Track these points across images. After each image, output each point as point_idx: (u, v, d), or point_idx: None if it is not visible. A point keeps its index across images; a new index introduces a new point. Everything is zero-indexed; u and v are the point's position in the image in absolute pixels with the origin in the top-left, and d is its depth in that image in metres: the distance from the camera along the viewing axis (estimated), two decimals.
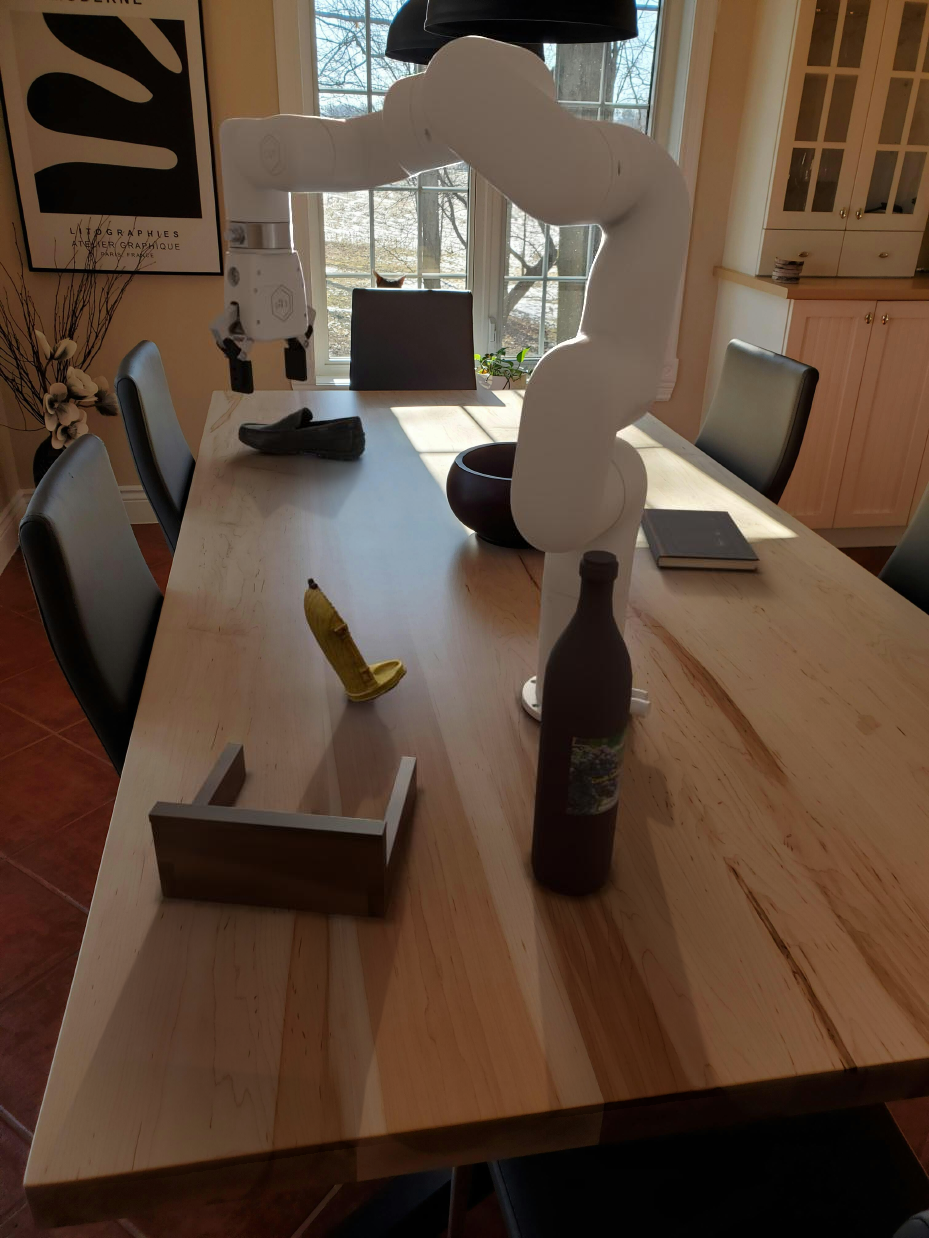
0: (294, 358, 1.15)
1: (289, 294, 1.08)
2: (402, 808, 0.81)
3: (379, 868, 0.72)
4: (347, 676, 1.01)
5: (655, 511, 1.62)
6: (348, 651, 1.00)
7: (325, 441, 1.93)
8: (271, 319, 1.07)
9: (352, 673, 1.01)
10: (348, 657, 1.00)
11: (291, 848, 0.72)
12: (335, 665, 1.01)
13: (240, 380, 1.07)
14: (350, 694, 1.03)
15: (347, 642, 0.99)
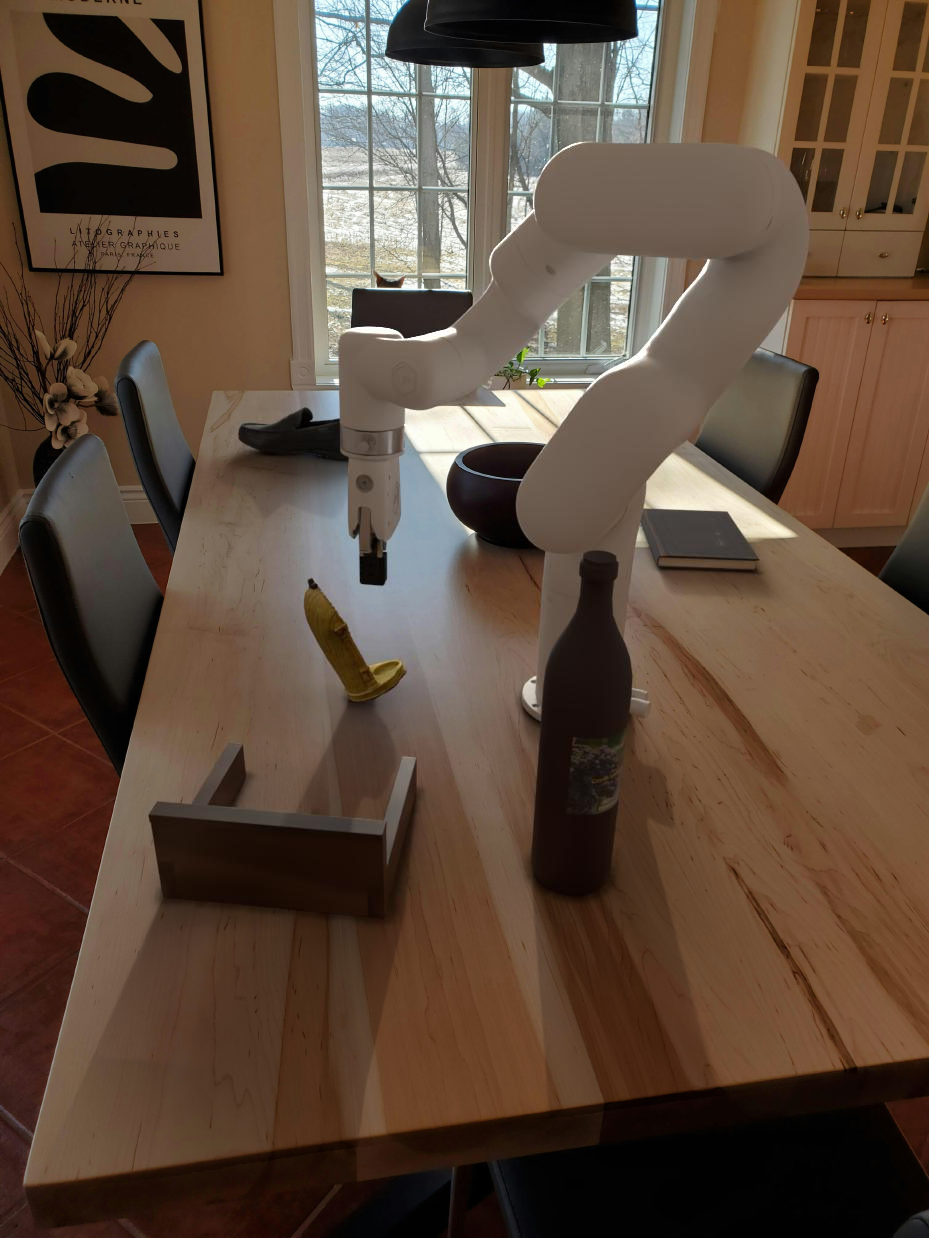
0: None
1: (398, 487, 1.09)
2: (402, 808, 0.81)
3: (379, 868, 0.72)
4: (347, 676, 1.01)
5: (655, 511, 1.62)
6: (348, 651, 1.00)
7: (325, 441, 1.93)
8: (392, 516, 1.07)
9: (352, 673, 1.01)
10: (348, 657, 1.00)
11: (291, 848, 0.72)
12: (335, 665, 1.01)
13: (376, 575, 1.11)
14: (350, 694, 1.03)
15: (347, 642, 0.99)
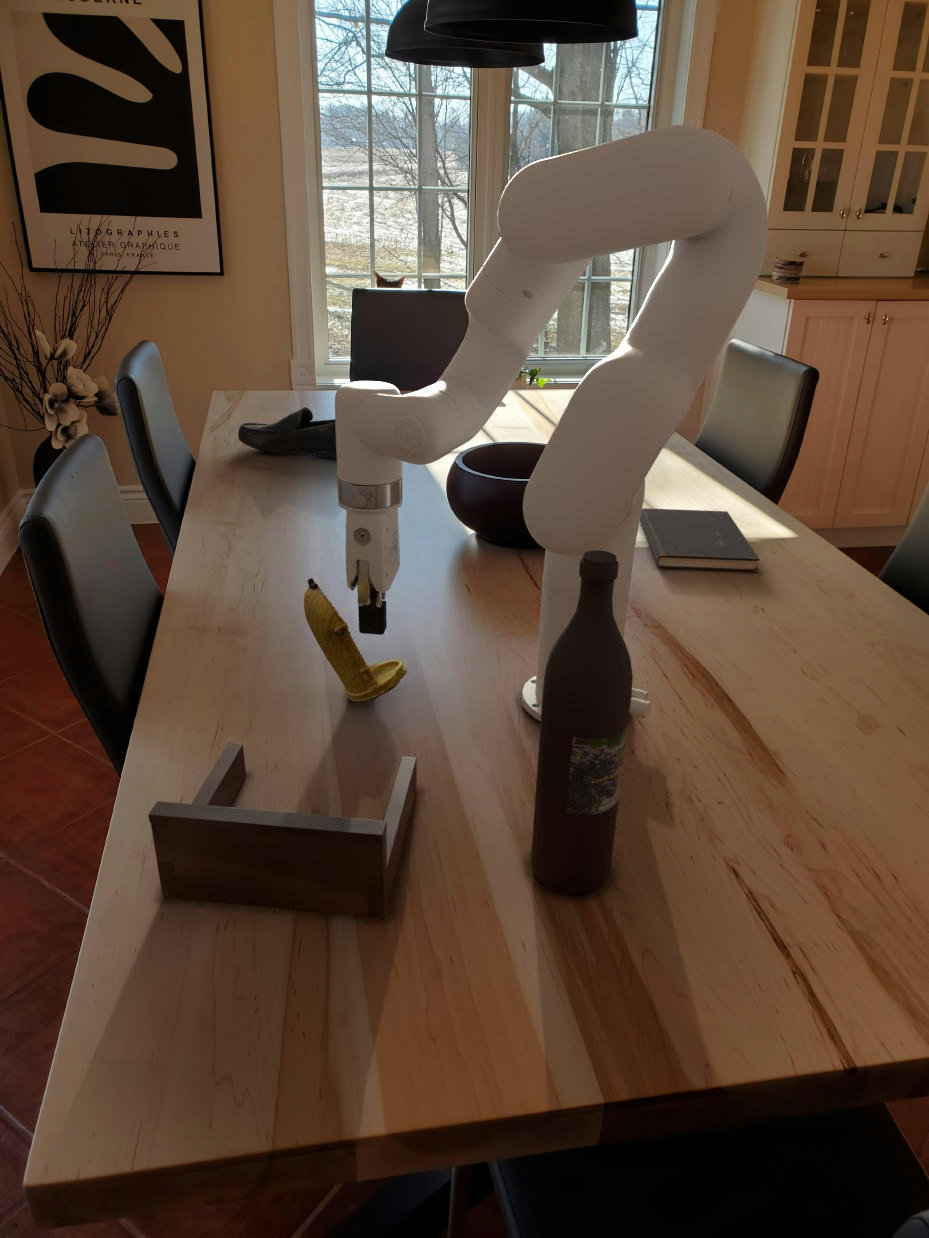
0: None
1: (396, 537, 1.09)
2: (402, 808, 0.81)
3: (379, 868, 0.72)
4: (347, 676, 1.01)
5: (655, 511, 1.62)
6: (348, 651, 1.00)
7: (325, 441, 1.93)
8: (391, 567, 1.07)
9: (352, 673, 1.01)
10: (348, 657, 1.00)
11: (291, 848, 0.72)
12: (335, 665, 1.01)
13: (375, 624, 1.11)
14: (350, 694, 1.03)
15: (347, 642, 0.99)
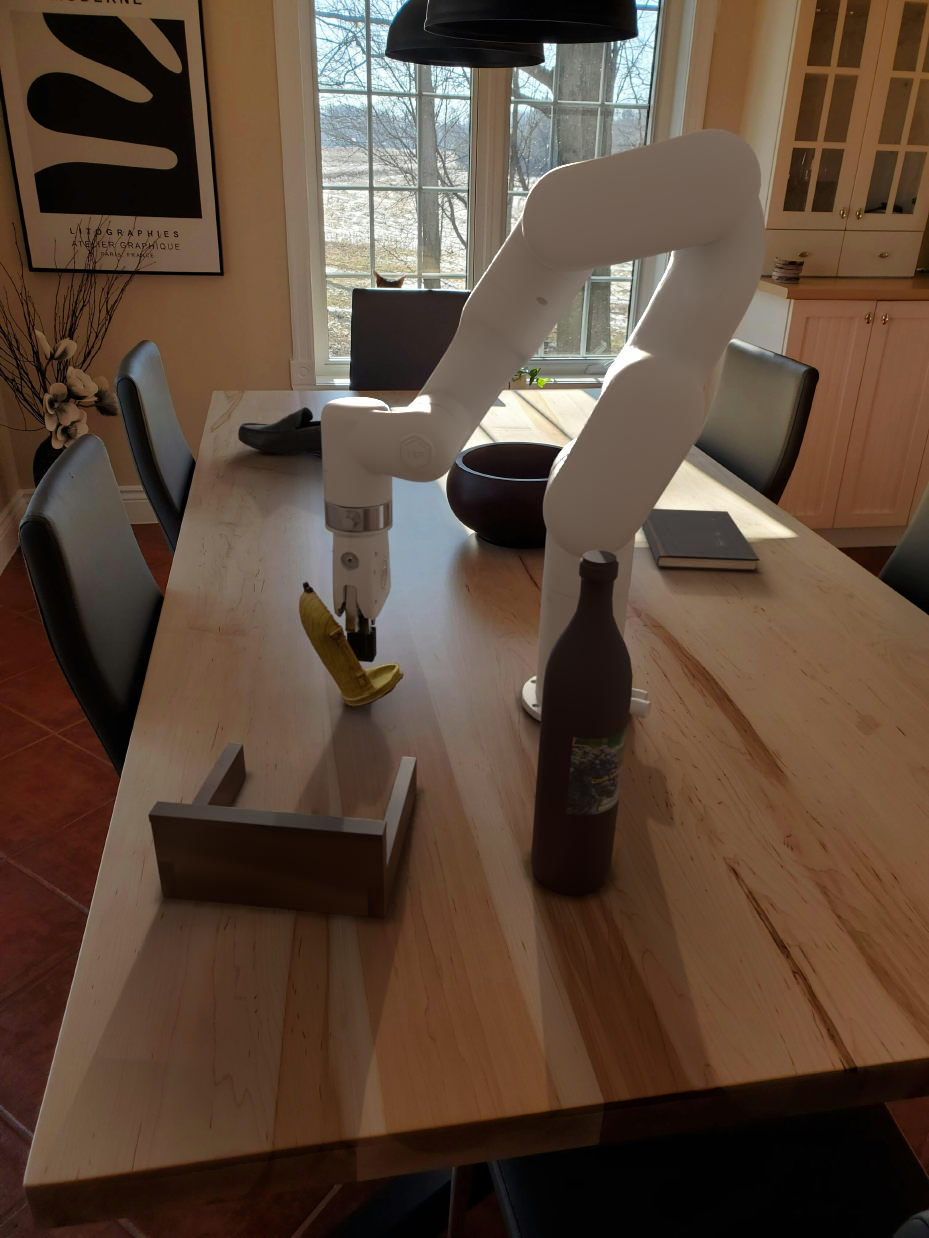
0: None
1: (386, 561, 1.03)
2: (402, 808, 0.81)
3: (379, 868, 0.72)
4: (343, 680, 1.00)
5: (655, 511, 1.62)
6: (344, 655, 0.99)
7: None
8: (380, 592, 1.01)
9: (348, 677, 1.00)
10: (344, 661, 0.99)
11: (291, 848, 0.72)
12: (331, 669, 1.00)
13: (365, 652, 1.06)
14: (346, 698, 1.02)
15: (343, 646, 0.98)
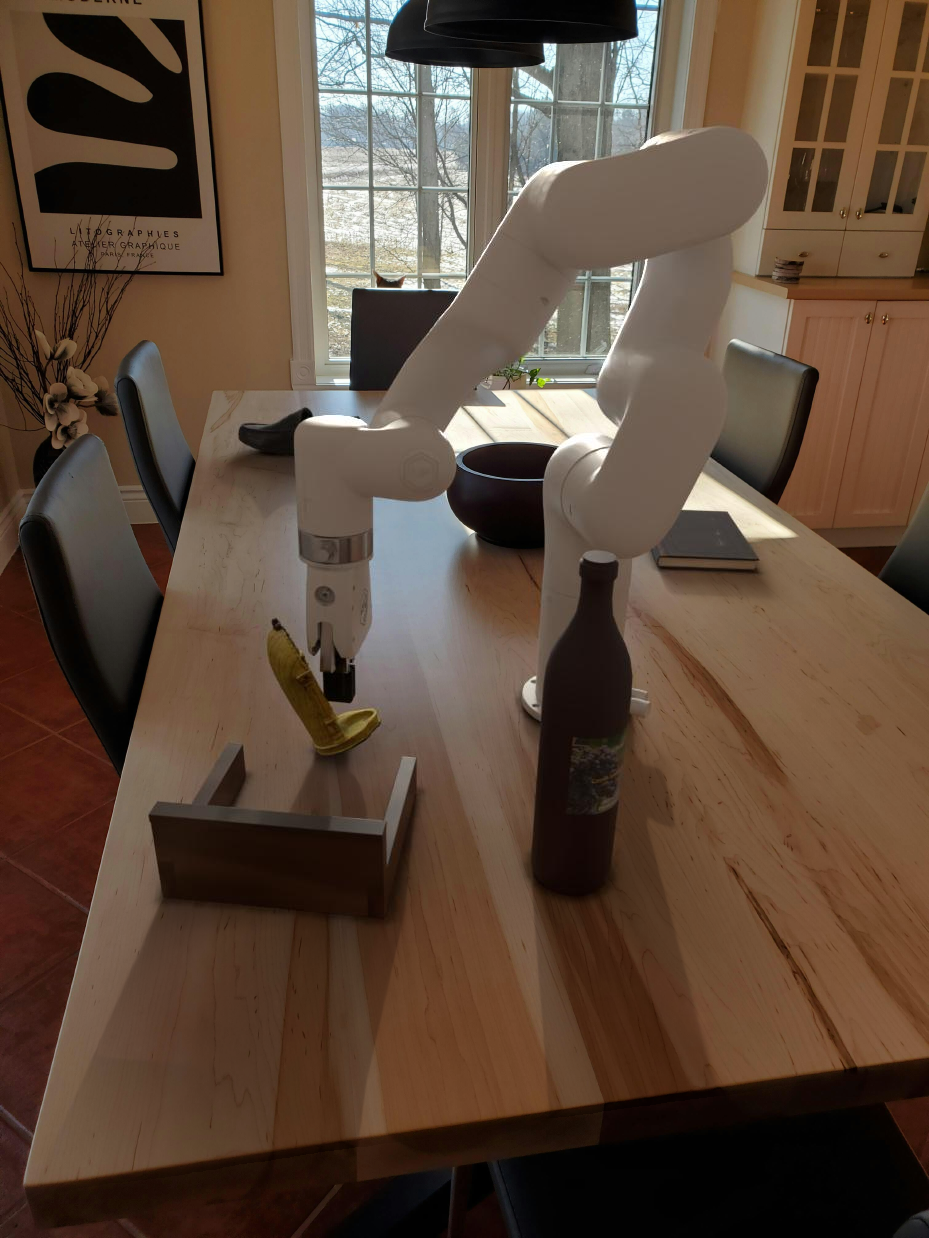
0: None
1: (366, 594, 0.94)
2: (402, 808, 0.81)
3: (379, 868, 0.72)
4: (311, 727, 0.92)
5: None
6: (312, 700, 0.90)
7: None
8: (359, 629, 0.92)
9: (317, 724, 0.91)
10: (312, 707, 0.90)
11: (291, 848, 0.72)
12: (299, 714, 0.92)
13: (342, 692, 0.96)
14: (316, 746, 0.93)
15: (311, 691, 0.89)
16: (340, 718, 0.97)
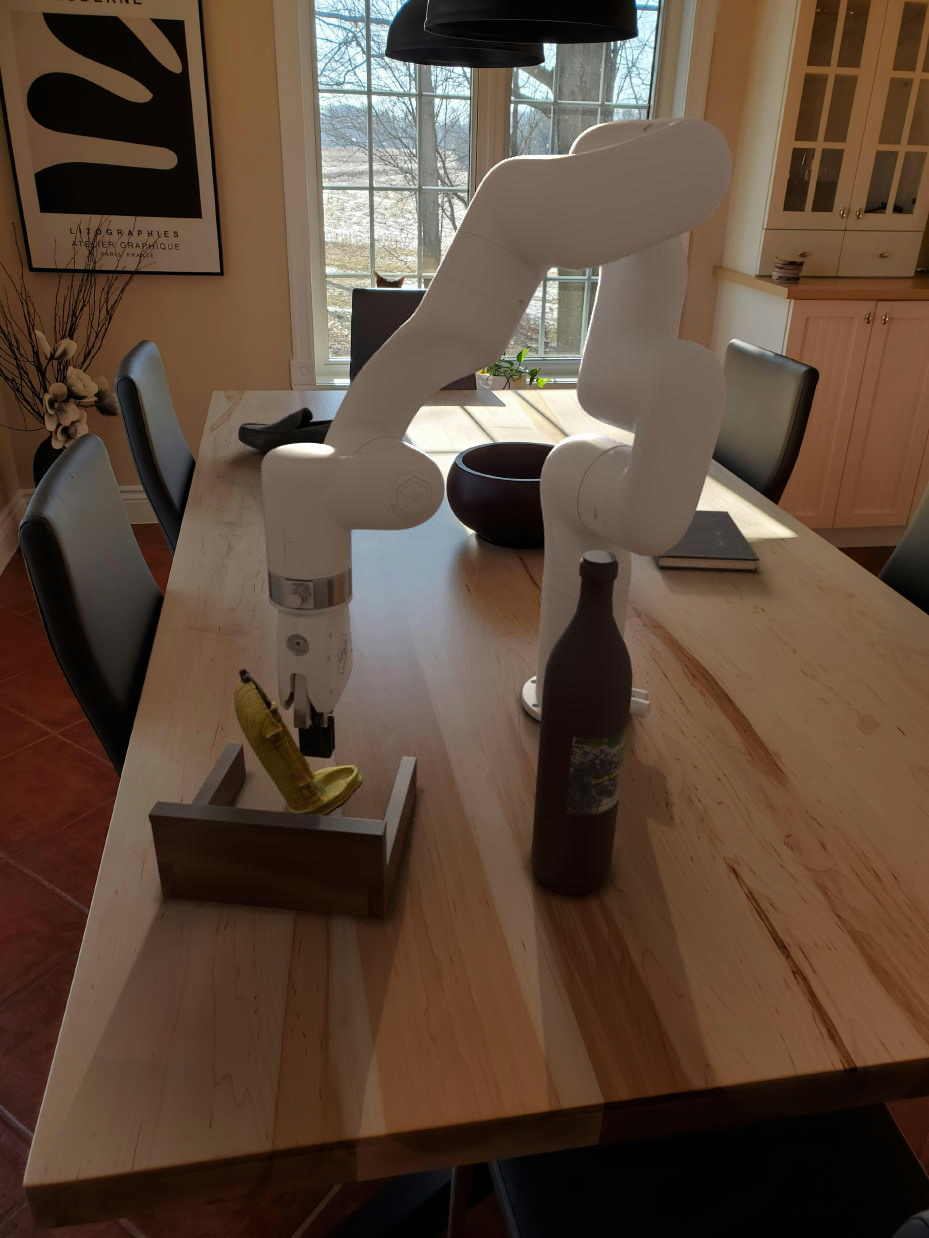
0: None
1: (346, 639, 0.85)
2: (402, 808, 0.81)
3: (379, 868, 0.72)
4: (284, 789, 0.82)
5: None
6: (284, 761, 0.81)
7: None
8: (337, 679, 0.83)
9: (290, 787, 0.82)
10: (284, 768, 0.81)
11: (291, 848, 0.72)
12: (270, 775, 0.82)
13: (320, 747, 0.87)
14: (290, 809, 0.84)
15: (282, 750, 0.80)
16: (317, 775, 0.88)
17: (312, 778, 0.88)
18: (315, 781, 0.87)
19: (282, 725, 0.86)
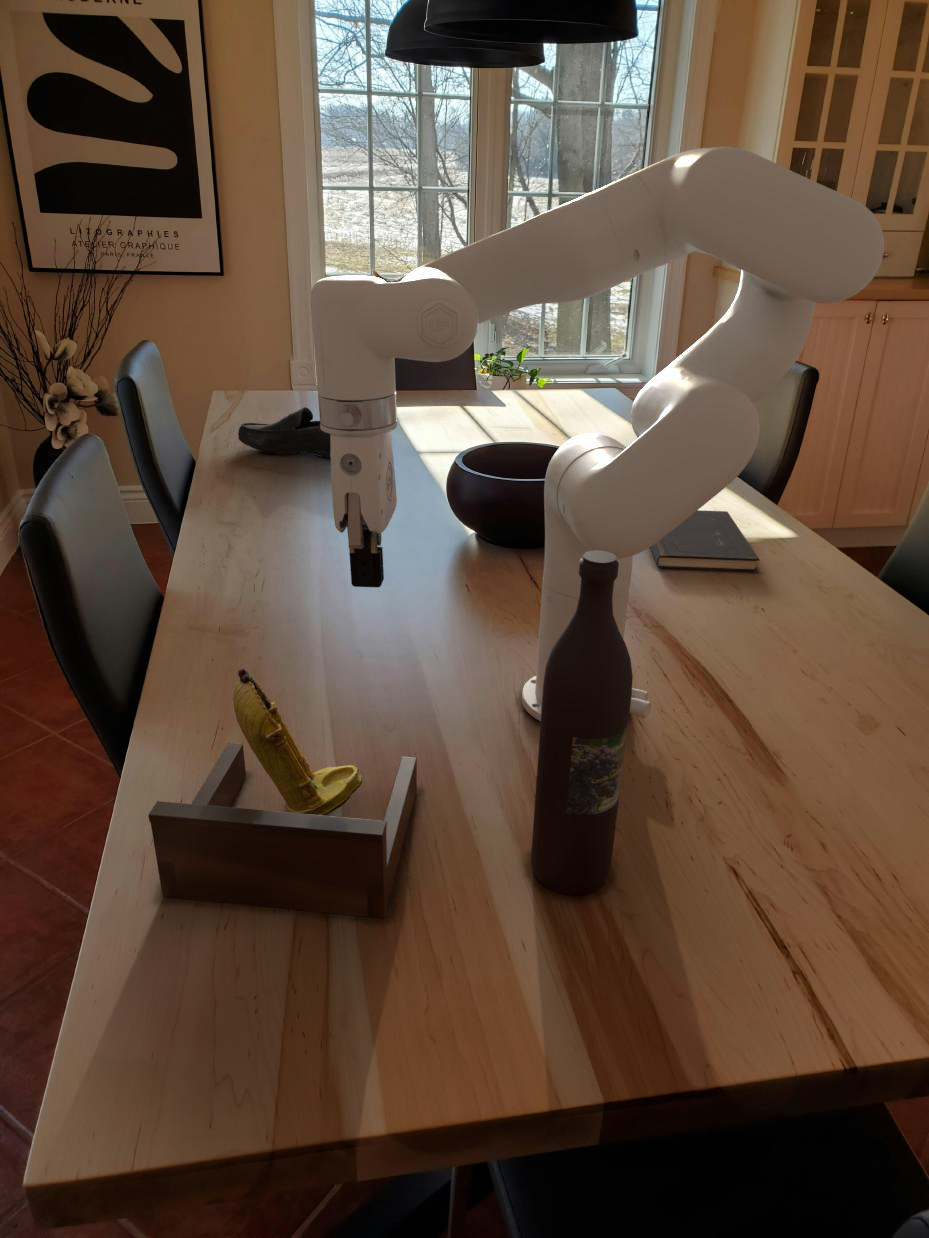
0: None
1: (391, 469, 0.91)
2: (402, 808, 0.81)
3: (379, 868, 0.72)
4: (283, 790, 0.82)
5: None
6: (283, 761, 0.81)
7: (325, 441, 1.93)
8: (386, 503, 0.89)
9: (289, 787, 0.82)
10: (284, 768, 0.81)
11: (291, 848, 0.72)
12: (270, 775, 0.82)
13: (371, 575, 0.94)
14: (289, 810, 0.84)
15: (282, 751, 0.80)
16: (317, 775, 0.88)
17: (312, 778, 0.88)
18: (315, 781, 0.87)
19: (281, 725, 0.86)
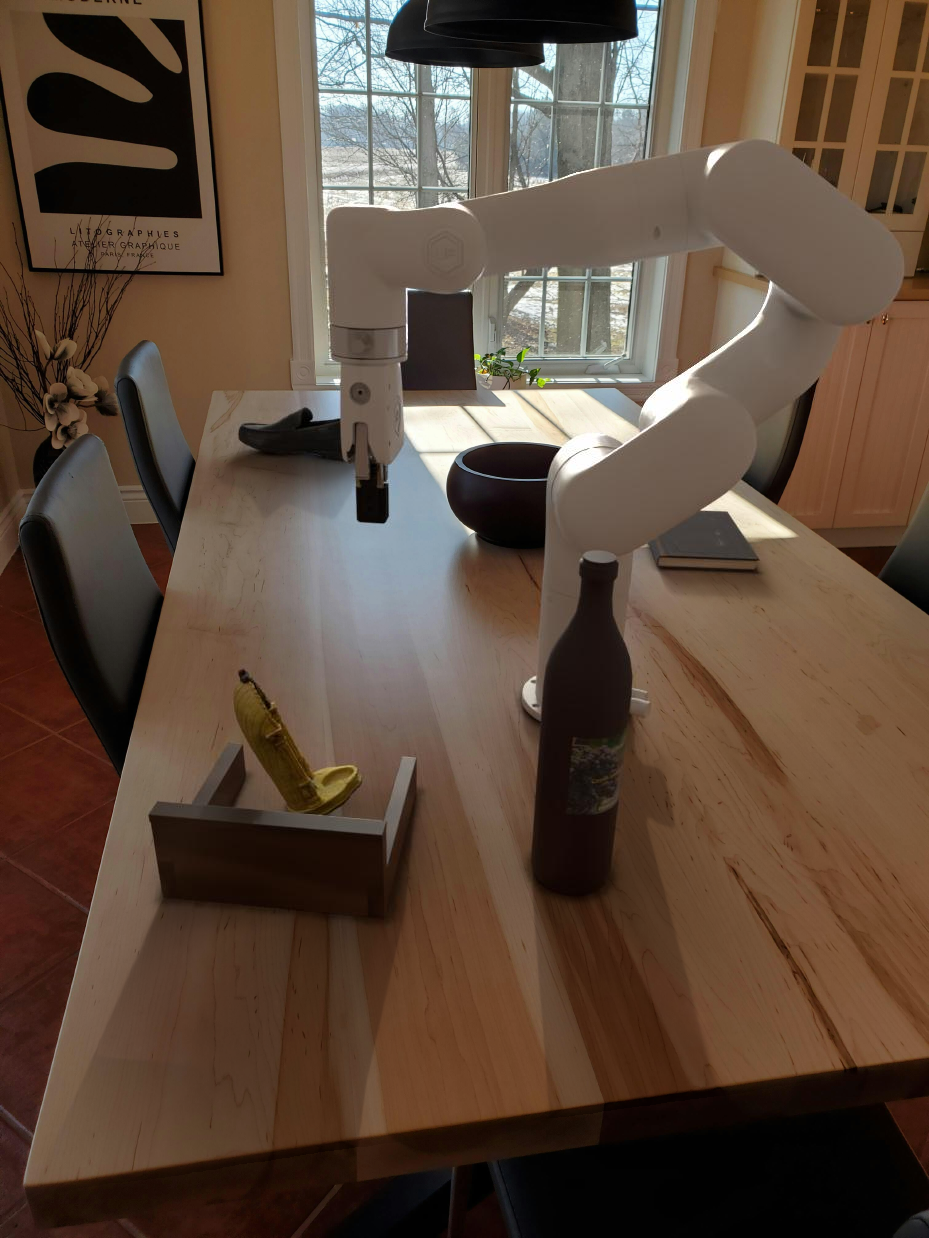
0: None
1: (400, 404, 0.92)
2: (402, 808, 0.81)
3: (379, 868, 0.72)
4: (283, 790, 0.82)
5: None
6: (283, 761, 0.81)
7: (325, 441, 1.93)
8: (394, 436, 0.90)
9: (289, 787, 0.82)
10: (284, 768, 0.81)
11: (291, 848, 0.72)
12: (270, 775, 0.82)
13: (376, 510, 0.94)
14: (289, 810, 0.84)
15: (282, 751, 0.80)
16: (317, 775, 0.88)
17: (312, 778, 0.88)
18: (315, 781, 0.87)
19: (281, 725, 0.86)
